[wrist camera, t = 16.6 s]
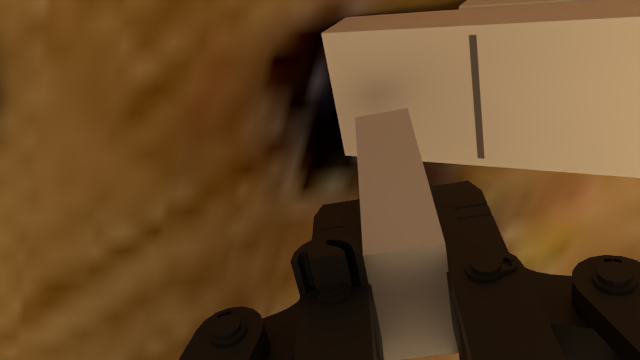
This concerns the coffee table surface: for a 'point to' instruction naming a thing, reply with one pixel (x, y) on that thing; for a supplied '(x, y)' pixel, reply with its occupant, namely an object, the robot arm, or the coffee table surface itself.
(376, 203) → the robot arm
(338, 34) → the domino
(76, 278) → the coffee table surface
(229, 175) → the coffee table surface
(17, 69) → the coffee table surface
